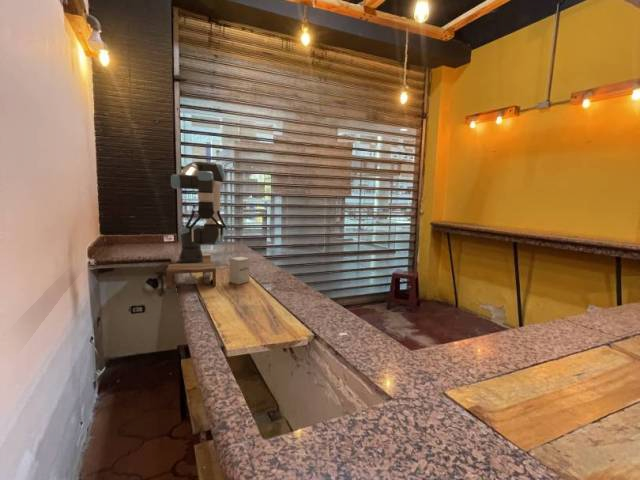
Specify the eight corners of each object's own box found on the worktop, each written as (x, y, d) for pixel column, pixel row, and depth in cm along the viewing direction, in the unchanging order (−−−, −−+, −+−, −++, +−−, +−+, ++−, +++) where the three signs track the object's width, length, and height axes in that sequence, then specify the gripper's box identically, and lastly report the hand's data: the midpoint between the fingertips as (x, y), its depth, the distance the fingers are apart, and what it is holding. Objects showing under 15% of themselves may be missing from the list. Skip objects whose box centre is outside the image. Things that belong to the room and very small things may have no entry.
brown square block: (185, 281, 170) (185, 276, 170) (195, 281, 172) (195, 275, 171) (185, 284, 165) (184, 278, 165) (195, 283, 167) (195, 278, 167)
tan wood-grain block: (202, 275, 182) (202, 254, 180) (210, 275, 183) (210, 254, 181) (202, 284, 166) (202, 261, 164) (211, 284, 167) (211, 260, 165)
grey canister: (238, 284, 168) (238, 260, 166) (229, 281, 172) (229, 258, 170) (249, 281, 174) (249, 258, 172) (240, 279, 178) (240, 256, 176)
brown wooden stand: (169, 281, 169) (169, 264, 168) (214, 279, 176) (214, 262, 175) (166, 289, 156) (166, 270, 155) (215, 286, 163) (215, 268, 162)
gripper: (179, 200, 167) (180, 242, 170) (230, 202, 175) (230, 241, 178) (180, 200, 174) (181, 240, 177) (229, 201, 182) (229, 239, 185)
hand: (206, 241), depth 177 cm, fingers open, 13 cm apart
